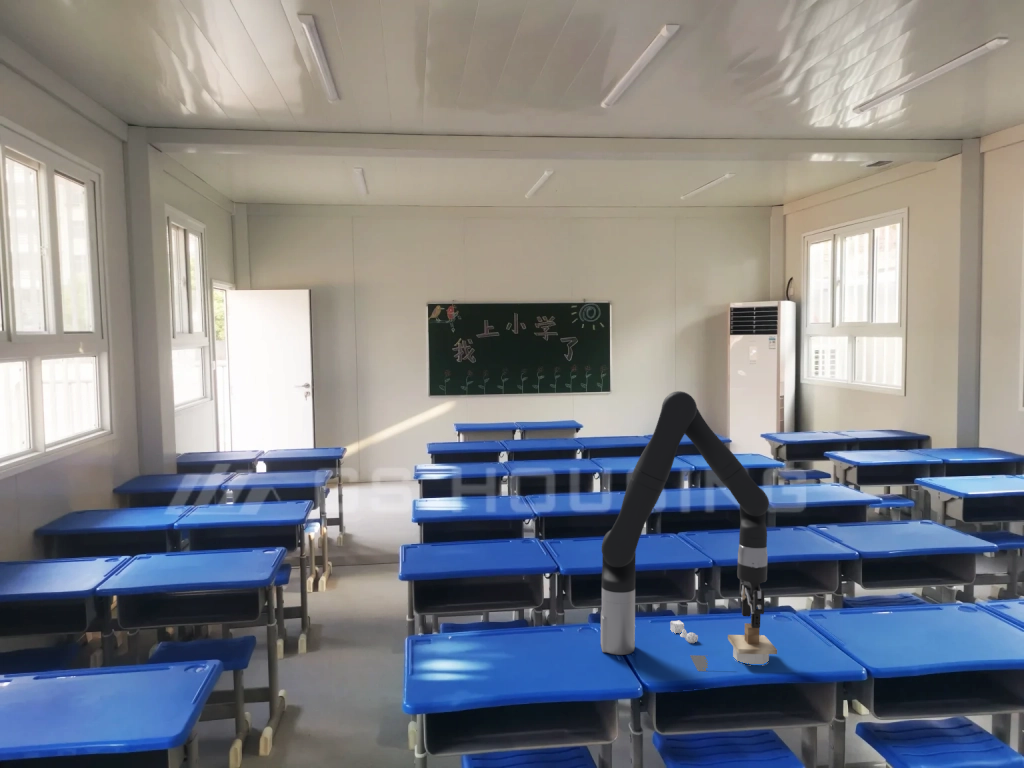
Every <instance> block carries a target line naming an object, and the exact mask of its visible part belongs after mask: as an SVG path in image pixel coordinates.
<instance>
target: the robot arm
mask: <svg viewBox="0 0 1024 768" xmlns="http://www.w3.org/2000/svg"><path fill="white" fill-rule="evenodd" d="M707 423H708V422H706V420H705V419H704V417H703V415H702V414H701V412H700V410H699V409H698V407H697V403H696V400H695V398H693V396H692V395H691V394H689V393H687V392H685V391H680V390H679V391H673V392H671V393H669V394H668V395H667V396H666V397H665V398H664V399H663V402H662V404H661V410H660V414H659V417H658V421H657V422H656V426H655V429H654V432H653V434H652V436H651V438H650V440H649V441H648V443H647V444H646V446H645V448H644V449H643V451H642V453H641V455H640V457H639V458H638V460H637V462H636V464H635V467H634V468H633V470H632V473H631V476H630V478H629V481H628V484H627V486H626V489H625V491H624V492H625V493H624V495H623V500H622V502H621V503H622V504H621V507H620V510H619V513H618V516H617V518H616V520H615V523H614V524H613V526H612V528H611V529H610V530H608V531H607V532H606V533H605V535H604V536H603V539H602V544H601V554H602V559H601V560H602V568H601V611H600V647H601V652H602V653H608V654H611V655H619V656H623V655H630V654H632V653H633V652H634V651H635V648H636V647H635V646H636V645H635V644H636V641H635V639H636V634H635V633H636V631H635V630H636V559H637V557H636V552H637V547H638V544H639V540H640V538H641V534H642V532H643V530H644V526H645V524H646V523H647V520H648V519H649V517H650V515H651V513H652V512H653V511H654V508H655V506H656V504H657V503H658V500H659V499H660V496H661V495H662V492H663V490H664V488H665V485H666V483H667V481H668V478H669V475H670V473H671V471H672V467H673V463H674V461H675V458H676V455H677V450H678V448H679V445H680V444H681V442H682V440H683V437H684V435H685V436H686V437H687V438H688V440H690V441H691V443H692V444H693V445H694V447H695V448H696V449H697V451H698V452H699V454H701V456H702V458H703V459H704V461H705V462H706V464H707V465H708V466H709V468H710V469H711V470H712V472H713V473H714V474H715V475H716V476H717V478H718V479H719V480H720V481H721V483H722V484H723V485H724V486H725V487H726V488H727V489H728V490H729V492H730V494H731V495H732V496H733V498H734V499H735V501H736V502H737V504H739V516H740V517H739V519H740V526H739V541H738V550H737V571H736V575H737V578H738V579H739V598H740V600H741V602H742V603H741V615H742V616H743V617H747V618H748V617H750V623H751V627H752V628H759V629H760V628H761V615H764V614H765V591H764V590H762V588H761V586H760V584H762V583H765V582H767V580H768V547H767V545H768V530H767V528H768V527H767V526H766V525H767V524H766V520H767V519H766V515H767V514H766V513H767V511H768V510H769V506H770V501H769V497H768V495H767V494H766V492H765V491H764V490H763V489H762V488H761V487H759V485H758V484H757V483H756V482H755V481H754V480H753V478H752V477H751V476H750V475H749V473H748V472H747V470H746V468H745V467H744V466H743V464H742V463H741V462H740V461H739V459H738V457H736V456H735V454H734V453H733V452H732V451H731V449H729V448H728V446H727V445H726V444H724V442H723V441H722V440H721V439H720V438H719V437H718V435H716V434H715V432H714V431H713V430H712V428H711V427H710V426H709V424H707Z"/></svg>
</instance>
